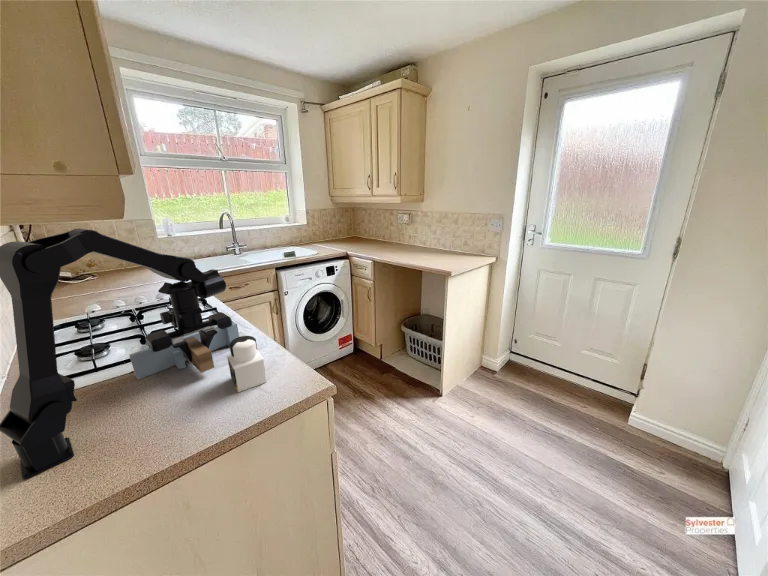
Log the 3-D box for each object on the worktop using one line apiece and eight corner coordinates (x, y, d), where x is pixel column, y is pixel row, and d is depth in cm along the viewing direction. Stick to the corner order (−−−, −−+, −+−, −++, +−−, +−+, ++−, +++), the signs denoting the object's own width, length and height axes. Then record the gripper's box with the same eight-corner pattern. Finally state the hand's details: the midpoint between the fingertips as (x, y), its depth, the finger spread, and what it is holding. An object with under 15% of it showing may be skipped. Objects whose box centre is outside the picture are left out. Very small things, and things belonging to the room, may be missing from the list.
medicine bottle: (231, 378, 81) (223, 338, 77) (259, 369, 85) (253, 330, 81) (237, 393, 75) (229, 350, 71) (267, 382, 79) (261, 341, 75)
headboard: (241, 344, 97) (238, 324, 95) (141, 384, 78) (133, 360, 76) (234, 340, 99) (231, 320, 97) (136, 377, 81) (129, 354, 78)
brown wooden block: (214, 367, 81) (211, 350, 80) (201, 372, 79) (197, 355, 77) (196, 351, 89) (192, 336, 87) (183, 356, 86) (179, 340, 85)
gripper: (210, 288, 90) (219, 336, 95) (131, 307, 76) (147, 362, 82) (228, 297, 83) (237, 348, 88) (145, 320, 70) (161, 379, 75)
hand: (197, 358), depth 84 cm, fingers closed on brown wooden block, 3 cm apart
